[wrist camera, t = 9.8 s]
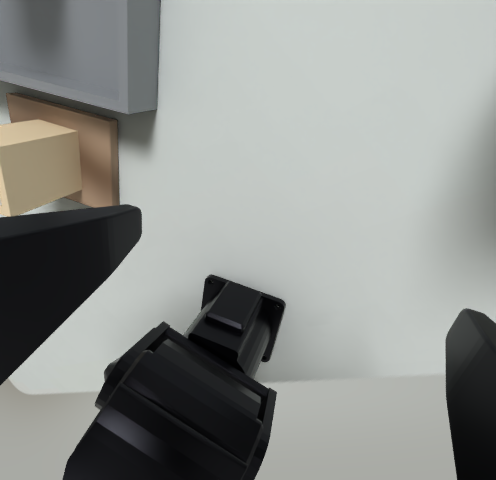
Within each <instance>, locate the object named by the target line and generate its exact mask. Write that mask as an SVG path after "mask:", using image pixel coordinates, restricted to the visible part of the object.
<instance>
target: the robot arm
mask: <svg viewBox="0 0 496 480" xmlns="http://www.w3.org/2000/svg"><path fill="white" fill-rule="evenodd" d="M141 234H142V214H141V210H140V209H139V208H138V207H135V206H132V205H128V204H125V205H115V206H106V207H96V208H87V209H77V210H68V211H58V212H49V213H39V214H29V215H20V216H10V217H1V218H0V385H1V384H2V383H3V382H4V381H5V380H6V379H7V378H8V377H9V376H10V375H11V374H12V373H13V372H14V371H15V370H16V369H17V368H18V367H19V366H20V365H21V364H22V363H23V362H24V361H25V360H26V359H27V358H28V357H29V356H30V355H31V354H32V353H33V352H34V351H35V350H36V349H37V348H38V347H39V346H40V345H41V344H42V343H43V342H44V341H45V340H46V339H47V338H48V337H49V336H50V335H51V334H52V333H53V332H54V331H55V330H56V329H57V328H58V327H59V326H60V325H61V324H62V323H63V322H64V321H65V320H66V319H67V318H68V317H69V316H70V315H71V314H72V313H73V312H74V311H75V310H76V309H77V308H78V307H79V306H80V305H81V304H82V303H83V302H84V301H85V300H86V299H87V298H88V297H89V296H90V295H91V294H92V293H93V292H94V291H95V290H96V289H97V288H98V287H99V286H100V285H101V284H102V283H103V282H104V281H105V280H106V279H107V278H108V277H109V276H110V275H111V274H112V273H113V272H114V271H115V269H116V268H117V267H118V266H119V264H120V263H121V262H122V261H123V260H124V258H125V257H126V256H127V255H128V253H129V252H130V251H131V250H132V248H133V247H134V246H135V245H136V243H137V242H138V241H139V239H140V237H141ZM210 280H212V281H213V282H214V283H212V282H211V281H210ZM277 305H280V306H281V307H278V306H277ZM285 306H286V304H285V302H284V301H283V300H281V299H279V298H276V297H273V296H271V295H268V294H265V293H262V292H260V291H257V290H254V289H251V288H248V287H246V286H243V285H240V284H237V283H235V282H232V281H229V280H226V279H223V278H221V277H218V276H215V275H209V276H208V277H207V278H206V279H205V285H204V292H203V300H202V307H201V312H200V313H199V315H198V316H197V318H196V319H195V320H194V322H193V323H192V324H191V326H190V327H189V328H188V330H187V331H186V332H185V334H184V335H182V334H180V333H178V332H177V331H175V330H174V329H172V328H170V325H168V324H167V323H165V322H164V321H163V322H162V323H161V324H160V325H159V326H158V327H156V328H153V329H152V330H151V331H150V332H148V333H147V334H146V335H145V336H144V337H143V338H142V339H141V340H139V341H138V342H137V343H136V344H135V345H134V346H133V347H132V348H130V349H129V350H128V351H127V352H126V353H125V354H124V355H123V356H122V357H120V358H119V359H117V360H115V361H113V362H112V363H110V364H109V365H108V366H107V368H106V369H105V371H104V379H105V383H104V385H103V387H102V389H101V391H100V393H99V395H98V397H97V400H96V402H95V406H96V407H97V408H98V409H100V412H99V413H98V415H97V416H96V418H95V419H94V421H93V422H92V424H91V425H90V427H89V428H88V430H87V431H86V433H85V434H84V436H83V437H82V439H81V440H80V442H79V443H78V445H77V446H76V448H75V450H74V452H73V453H72V455H71V456H70V458H69V459H68V461H67V464H66V468H65V472H64V476H63V480H254V479H255V477H256V475H257V473H258V471H259V468H260V466H261V464H262V461H263V458H264V456H265V453H266V450H267V446H268V443H269V439H270V433H271V426H272V420H273V414H274V407H275V401H276V394H277V392H276V391H274V390H272V389H271V388H269V389H268V388H266V387H265V386H263V385H262V384H260V383H258V382H257V381H255V380H254V379H253V378H254V376H255V373H256V371H257V369H258V366H259V364H260V361H262V362H268V361H269V359H270V357H271V354H272V350H273V347H274V344H275V340H276V337H277V333H278V330H279V327H280V323H281V320H282V317H283V313H284V310H285ZM263 355H265V356H263ZM446 400H447V408H448V416H449V423H450V430H451V438H452V444H453V451H454V460H455V467H456V474H457V480H496V323H495V322H493V321H492V320H491V319H490V318H489V317H487V316H486V315H485V314H483V313H481V312H478V311H474V310H471V309H467V308H466V309H463V310H462V311H461V312H460V313H459V315H458V317H457V318H456V320H455V322H454V323H453V325H452V327H451V328H450V330H449V332H448V334H447V337H446Z"/></svg>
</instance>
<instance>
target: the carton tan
mask: <svg viewBox="0 0 496 480" xmlns="http://www.w3.org/2000/svg"><path fill="white" fill-rule="evenodd" d="M80 190H82V179H81V166H80V153H79V139H78V131H76V130H73V129H69V128H66V127H63V126H59V125H56V124H53V123H49V122H46V121H43V120H39V119H37V120H30V121H23V122H16V123H10V124H3V125H0V214H2V215H4V216H7V217H10V216H18V215H20V214H23V213H25V212H28V211H30V210H33V209H35V208H37V207H40V206H42V205H45V204H47V203H50V202H52V201H55V200H57V199H60V198H62V197H65V196H67V195H70V194H72V193H75V192H77V191H80Z"/></svg>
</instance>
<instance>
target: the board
mask: <svg viewBox="0 0 496 480" xmlns="http://www.w3.org/2000/svg"><path fill="white" fill-rule="evenodd" d="M6 97H7V103H8V108H9V114H10V120H11V123H16V122H23V121H30V120H37V119H39V120H43V121H46V122H49V123H53V124H56V125H59V126H63V127H66V128H69V129H73V130H76V131H78V139H79V153H80V166H81V179H82V190H80V191H77V192H75V193H72V194H70V195H67V196H65V198H68V199H71V200H73V201H76V202H79V203H82V204H85V205H88V206H91V207H94V208H96V207H106V206H115V205H119V172H118V129H117V120H114V119H111V118H107V117H103V116H100V115H96V114H92V113H89V112H85V111H81V110H78V109H74V108H70V107H67V106H63V105H59V104H56V103H52V102H48V101H45V100H41V99H37V98H34V97H30V96H26V95H23V94H19V93H6Z"/></svg>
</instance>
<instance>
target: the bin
mask: <svg viewBox="0 0 496 480" xmlns="http://www.w3.org/2000/svg"><path fill="white" fill-rule="evenodd" d="M159 27H160V0H0V80H1V81H5V82H8V83H12V84H16V85H20V86H23V87H27V88H31V89H35V90H38V91H42V92H46V93H50V94H53V95H57V96H61V97H65V98H68V99H72V100H76V101H80V102H83V103H87V104H91V105H95V106H99V107H102V108H106V109H110V110H114V111H117V112H121V113H125V114H133V113H139V112H144V111H150V110H155V109H157V89H158V58H159Z"/></svg>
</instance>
